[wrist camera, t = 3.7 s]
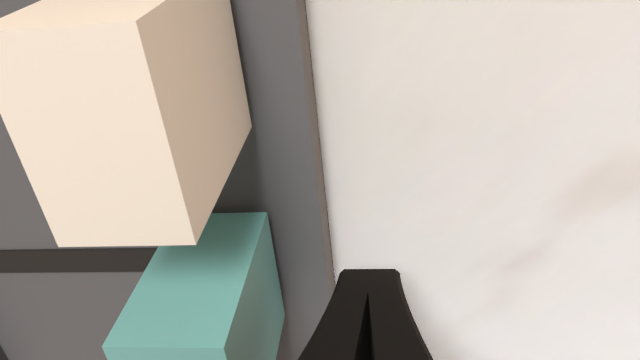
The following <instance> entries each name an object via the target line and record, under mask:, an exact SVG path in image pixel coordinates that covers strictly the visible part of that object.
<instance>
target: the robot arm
mask: <svg viewBox="0 0 640 360" xmlns="http://www.w3.org/2000/svg"><path fill="white" fill-rule="evenodd" d="M298 360H433V358H432V356H431V355H430V353H429V351H428V349H427V347H426V345H425V343H424V341H423V339H422V337H421V334H420V332H419V330H418V328H417V326H416V323H415V321H414V319H413V316H412V314H411V312H410V309H409V306H408V303H407V301H406V298H405V295H404V292H403V288H402V284H401V279H400V273H399V272H398V271H397V270H395V269H344V270H343V271H342V272H341V273H340V275H339V278H338V281H337V284H336V287H335V289H334V292H333V294H332V297H331V299H330V301H329V303H328V305H327V308H326V310H325V312H324V314H323V316H322V318H321V320H320V322H319V324H318V325H317V327H316V329H315V331H314V333H313V335H312V337H311V338H310V340H309V342H308V343H307V345H306V347H305V348H304V350H303V352H302V353H301V355H300V357H299V358H298Z"/></svg>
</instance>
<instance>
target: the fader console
mask: <svg viewBox="0 0 640 360" xmlns="http://www.w3.org/2000/svg"><path fill="white" fill-rule="evenodd" d="M38 1H41V0H0V18H2V17H4V16H6V15H8V14H11V13H13V12H15V11H18V10H20V9H22V8H25V7H27V6H29V5H31V4H34V3H36V2H38ZM230 5H231V10H232V16H233V22H234V27H235V33H236V39H237V44H238V50H239V56H240V61H241V67H242V73H243V79H244V84H245V90H246V96H247V101H248V107H249V113H250V118H251V124H252V128H251V130H250V132H249V134H248V136H247V138H246V140H245V142H244V144H243V147H242V149H241V151H240V153H239V155H238V157H237V159H236V161H235V164H234V166H233V168H232V170H231V172H230V174H229V176H228V178H227V180H226V183H225V185H224V187H223V189H222V191H221V193H220V195H219V197H218V200H217V202H216V204H215V206H214V208H213V210H212V212H211V213H247V212H267V215H268V221H269V226H270V232H271V238H272V243H273V249H274V255H275V260H276V266H277V272H278V278H279V283H280V289H281V295H282V300H283V306H284V312H285V317H284V322H283V327H282V332H281V337H280V341H279V346H278V351H277V356H276V360H298V358H299V357H300V355H301V353H302V352H303V350H304V348H305V347H306V345H307V343H308V342H309V340H310V338H311V337H312V335H313V333H314V331H315V329H316V327H317V325H318V324H319V322H320V320H321V318H322V316H323V314H324V312H325V310H326V308H327V305H328V303H329V301H330V299H331V297H332V294H333V292H334V289H335V282H334V272H333V263H332V253H331V244H330V234H329V225H328V216H327V206H326V197H325V187H324V178H323V169H322V159H321V150H320V140H319V131H318V121H317V112H316V103H315V93H314V84H313V74H312V65H311V55H310V46H309V37H308V27H307V18H306V8H305V0H230ZM157 248H158V246H100V247H58V245H57V243H56V241H55V238H54V236H53V234H52V231H51V229H50V227H49V225H48V222H47V220H46V218H45V215H44V213H43V211H42V209H41V206H40V204H39V202H38V199H37V197H36V195H35V192H34V190H33V188H32V186H31V183H30V181H29V179H28V176H27V174H26V172H25V169H24V167H23V165H22V163H21V160H20V158H19V156H18V153H17V151H16V149H15V147H14V144H13V142H12V140H11V137H10V135H9V133H8V130H7V128H6V126H5V124H4V121H3V119H2V117H1V114H0V360H107V358H106V355H105V353H104V351H103V348H102V345H103V344H104V342H105V340H106V338H107V336H108V335H109V333H110V331H111V329H112V328H113V326H114V324H115V322H116V321H117V319H118V317H119V315H120V313H121V312H122V310H123V308H124V306H125V305H126V303H127V301H128V299H129V298H130V296H131V294H132V292H133V291H134V289H135V287H136V285H137V283H138V282H139V280H140V278H141V276H142V275H143V273H144V271H145V269H146V268H147V266H148V264H149V262H150V260H151V259H152V257H153V255H154V253H155V252H156V250H157Z"/></svg>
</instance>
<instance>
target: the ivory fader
mask: <svg viewBox="0 0 640 360" xmlns="http://www.w3.org/2000/svg"><path fill="white" fill-rule="evenodd" d="M0 114H1V117H2V119H3V121H4V124H5V126H6V128H7V130H8V133H9V135H10V137H11V140H12V142H13V144H14V147H15V149H16V151H17V153H18V156H19V158H20V160H21V163H22V165H23V167H24V169H25V172H26V174H27V176H28V179H29V181H30V183H31V186H32V188H33V190H34V192H35V195H36V197H37V199H38V202H39V204H40V206H41V209H42V211H43V213H44V215H45V218H46V220H47V222H48V225H49V227H50V229H51V231H52V234H53V236H54V238H55V241H56V243H57V245H58V247H100V246H170V245H196V244H197V242H198V240H199V238H200V236H201V233H202V231H203V229H204V227H205V225H206V223H207V221H208V219H209V216H210V214H211V212H212V210H213V208H214V206H215V204H216V202H217V200H218V197H219V195H220V193H221V191H222V189H223V187H224V185H225V183H226V180H227V178H228V176H229V174H230V172H231V170H232V168H233V166H234V164H235V161H236V159H237V157H238V155H239V153H240V151H241V149H242V147H243V144H244V142H245V140H246V138H247V136H248V134H249V132H250V130H251V128H252V124H251V118H250V113H249V107H248V101H247V96H246V90H245V84H244V79H243V73H242V67H241V61H240V56H239V50H238V44H237V39H236V33H235V27H234V22H233V16H232V10H231V5H230V0H41V1H38V2H36V3H34V4H31V5H29V6H27V7H25V8H22V9H20V10H18V11H15V12H13V13H11V14H8V15H6V16H4V17H2V18H0Z"/></svg>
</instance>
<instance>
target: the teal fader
mask: <svg viewBox="0 0 640 360" xmlns="http://www.w3.org/2000/svg"><path fill="white" fill-rule="evenodd" d="M284 317H285V312H284V306H283V300H282V295H281V289H280V283H279V278H278V272H277V266H276V260H275V255H274V249H273V243H272V238H271V232H270V226H269V221H268V215H267V212H247V213H211V214H210V216H209V219H208V221H207V223H206V225H205V227H204V229H203V231H202V233H201V236H200V238H199V240H198V242H197V244H196V245H170V246H158V248H157V250H156V252H155V253H154V255H153V257H152V259H151V260H150V262H149V264H148V266H147V268H146V269H145V271H144V273H143V275H142V276H141V278H140V280H139V282H138V283H137V285H136V287H135V289H134V291H133V292H132V294H131V296H130V298H129V299H128V301H127V303H126V305H125V306H124V308H123V310H122V312H121V313H120V315H119V317H118V319H117V321H116V322H115V324H114V326H113V328H112V329H111V331H110V333H109V335H108V336H107V338H106V340H105V342H104V344H103V345H102V348H103V351H104V353H105V355H106V358H107V360H276V356H277V351H278V346H279V341H280V337H281V332H282V327H283V322H284Z"/></svg>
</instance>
